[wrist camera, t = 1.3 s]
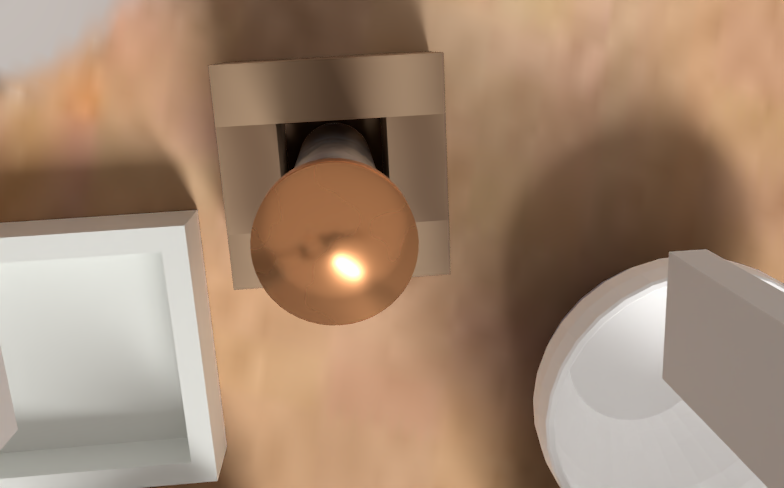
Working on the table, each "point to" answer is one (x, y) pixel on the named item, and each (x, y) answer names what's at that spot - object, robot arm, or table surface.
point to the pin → (334, 233)
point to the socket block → (325, 103)
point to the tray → (109, 353)
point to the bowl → (625, 396)
